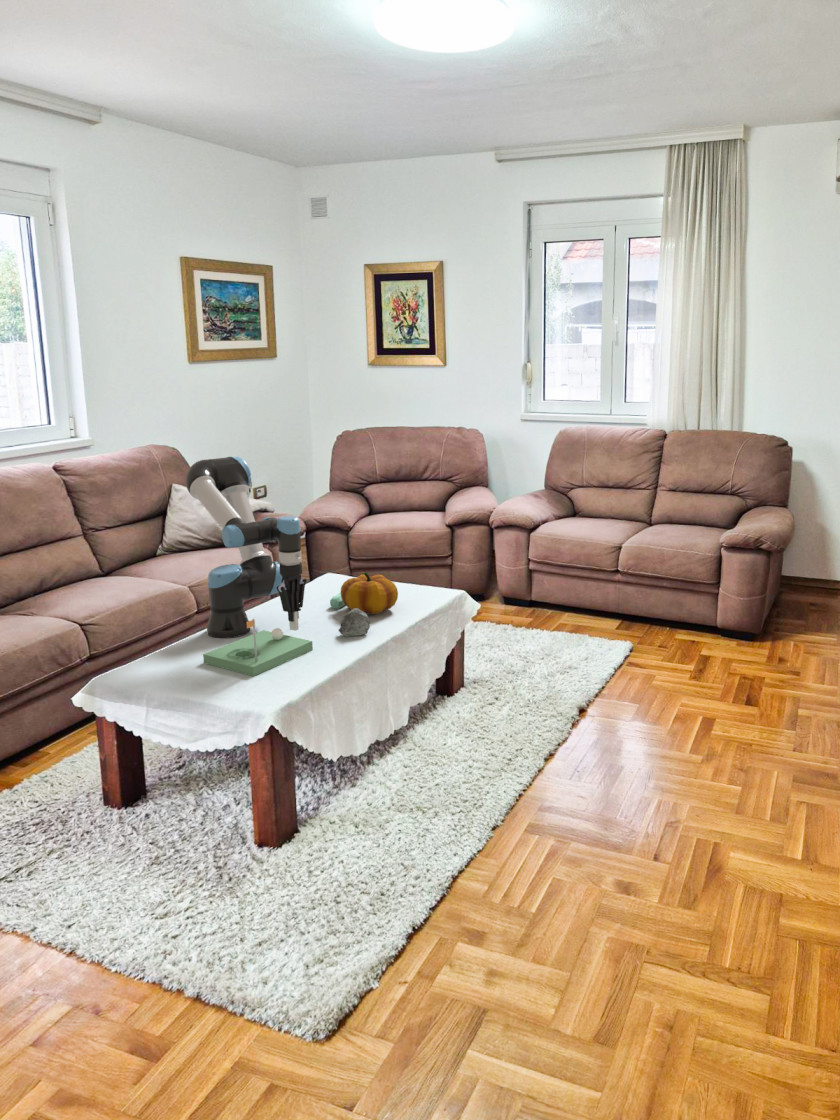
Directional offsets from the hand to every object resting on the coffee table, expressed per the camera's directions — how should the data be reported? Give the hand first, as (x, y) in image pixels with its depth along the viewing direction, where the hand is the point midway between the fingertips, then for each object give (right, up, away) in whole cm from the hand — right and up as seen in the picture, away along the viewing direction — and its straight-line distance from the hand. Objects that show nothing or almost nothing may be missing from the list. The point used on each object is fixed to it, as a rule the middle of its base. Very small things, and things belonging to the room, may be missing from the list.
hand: (294, 629), depth 313 cm
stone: (+21, -2, +8) cm, 22 cm away
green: (-10, -8, -14) cm, 19 cm away
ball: (-5, -1, -7) cm, 9 cm away
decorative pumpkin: (+24, +4, +34) cm, 42 cm away
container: (+15, +7, +47) cm, 50 cm away
